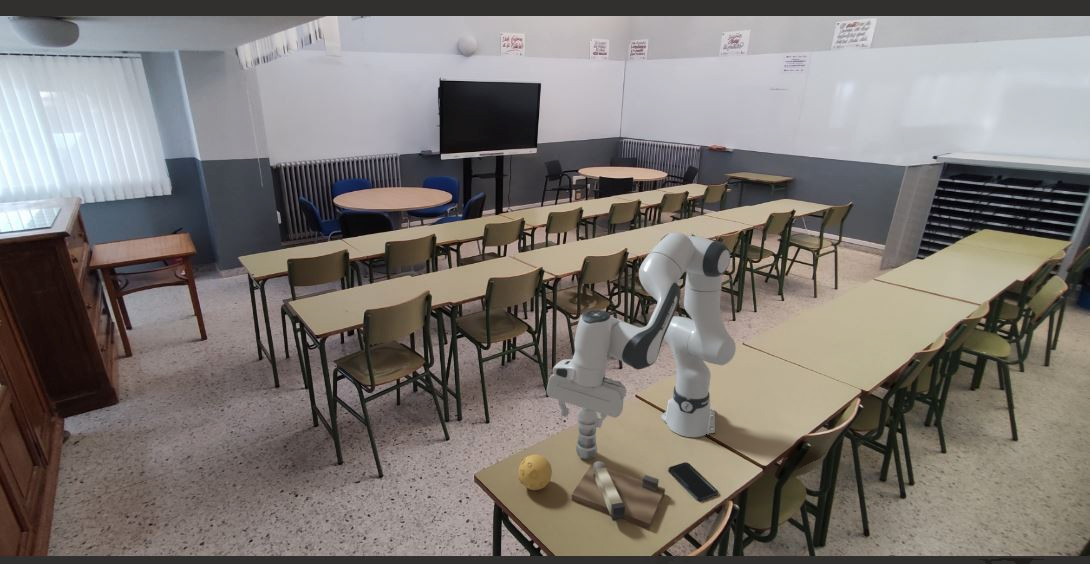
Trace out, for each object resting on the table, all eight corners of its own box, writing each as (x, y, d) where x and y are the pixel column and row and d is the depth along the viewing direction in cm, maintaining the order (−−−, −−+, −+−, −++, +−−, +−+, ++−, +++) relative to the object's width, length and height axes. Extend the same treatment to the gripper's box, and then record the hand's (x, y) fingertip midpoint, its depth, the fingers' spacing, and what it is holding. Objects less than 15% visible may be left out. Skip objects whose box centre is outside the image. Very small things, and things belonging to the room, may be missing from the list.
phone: (687, 461, 165) (720, 492, 152) (686, 464, 165) (719, 495, 152) (666, 468, 162) (698, 500, 149) (666, 471, 162) (697, 503, 149)
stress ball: (545, 476, 160) (522, 454, 160) (563, 465, 154) (539, 442, 154) (530, 502, 152) (505, 478, 152) (548, 491, 146) (522, 466, 146)
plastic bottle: (595, 463, 165) (598, 409, 158) (574, 460, 166) (576, 406, 159) (597, 450, 171) (600, 397, 164) (577, 447, 172) (579, 395, 165)
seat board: (591, 468, 162) (592, 455, 161) (664, 494, 152) (666, 480, 151) (571, 499, 150) (571, 485, 148) (649, 529, 140) (650, 514, 138)
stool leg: (591, 473, 157) (592, 461, 156) (601, 471, 158) (602, 460, 156) (612, 520, 140) (613, 508, 138) (624, 519, 140) (625, 506, 139)
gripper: (630, 379, 132) (622, 427, 136) (556, 358, 140) (551, 404, 143) (623, 388, 127) (615, 438, 130) (547, 366, 134) (541, 414, 138)
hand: (581, 420), depth 137 cm, fingers open, 8 cm apart
